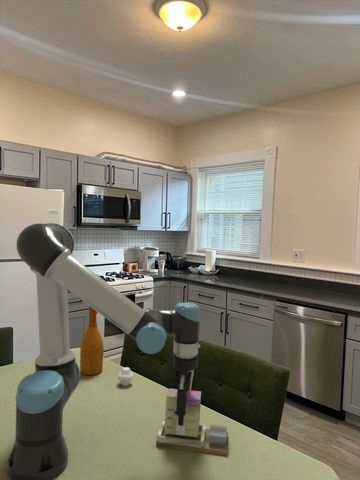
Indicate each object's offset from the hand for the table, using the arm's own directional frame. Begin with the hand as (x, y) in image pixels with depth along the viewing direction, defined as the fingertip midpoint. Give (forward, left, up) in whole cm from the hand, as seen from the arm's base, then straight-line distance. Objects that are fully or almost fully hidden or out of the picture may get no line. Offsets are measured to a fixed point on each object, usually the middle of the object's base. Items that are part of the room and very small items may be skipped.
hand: (182, 428), depth 111 cm
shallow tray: (0, -4, -4) cm, 5 cm away
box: (0, 0, -1) cm, 1 cm away
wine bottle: (+40, +46, -4) cm, 61 cm away
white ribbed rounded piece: (+32, +28, -4) cm, 43 cm away
